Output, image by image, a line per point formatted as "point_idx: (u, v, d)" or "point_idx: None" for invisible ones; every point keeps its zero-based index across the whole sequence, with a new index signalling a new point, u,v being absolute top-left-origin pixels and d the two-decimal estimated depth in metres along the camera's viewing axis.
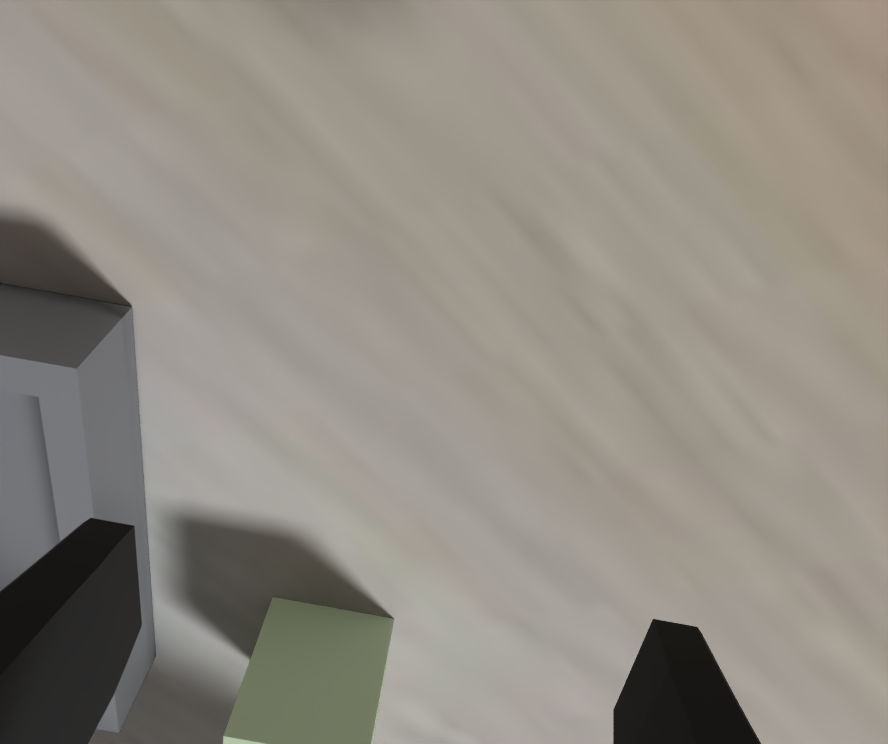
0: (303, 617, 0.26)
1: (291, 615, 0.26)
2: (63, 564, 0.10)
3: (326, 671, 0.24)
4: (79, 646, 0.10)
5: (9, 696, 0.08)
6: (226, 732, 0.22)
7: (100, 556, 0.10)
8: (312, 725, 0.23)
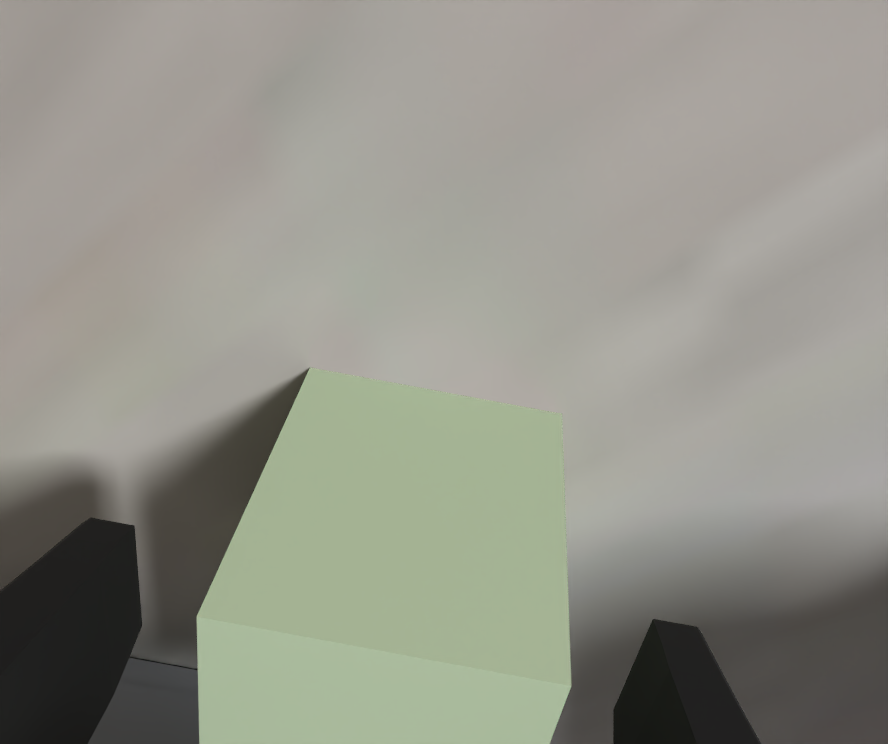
0: None
1: None
2: (63, 564, 0.10)
3: None
4: (79, 646, 0.10)
5: (9, 696, 0.08)
6: None
7: (100, 556, 0.10)
8: None
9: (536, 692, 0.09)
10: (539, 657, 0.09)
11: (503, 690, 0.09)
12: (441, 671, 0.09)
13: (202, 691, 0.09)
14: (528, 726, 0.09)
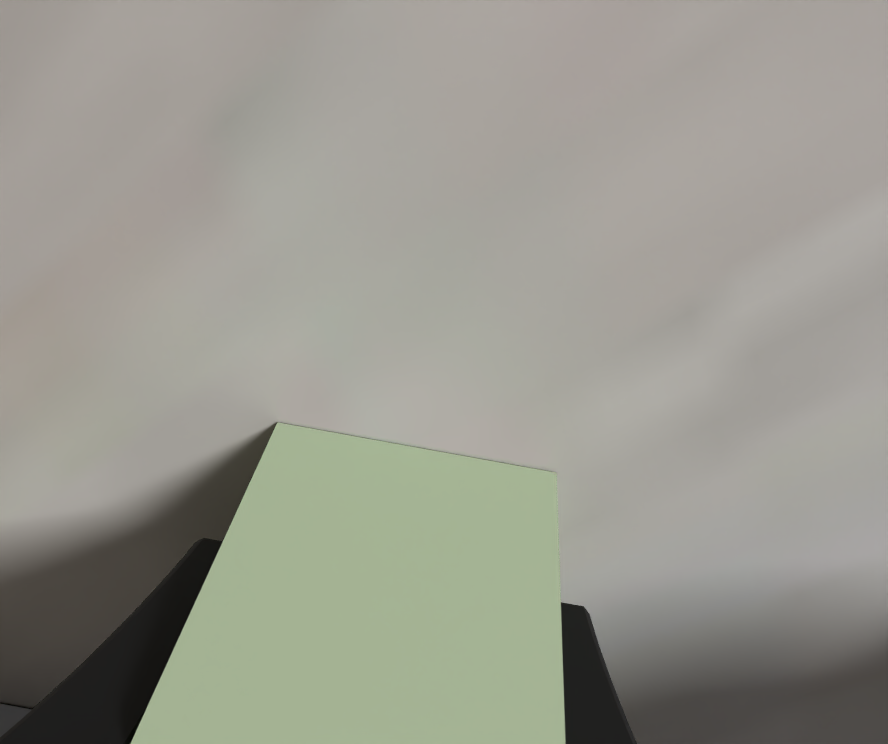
0: None
1: None
2: (188, 586, 0.10)
3: None
4: None
5: None
6: None
7: None
8: None
9: None
10: None
11: None
12: None
13: None
14: None
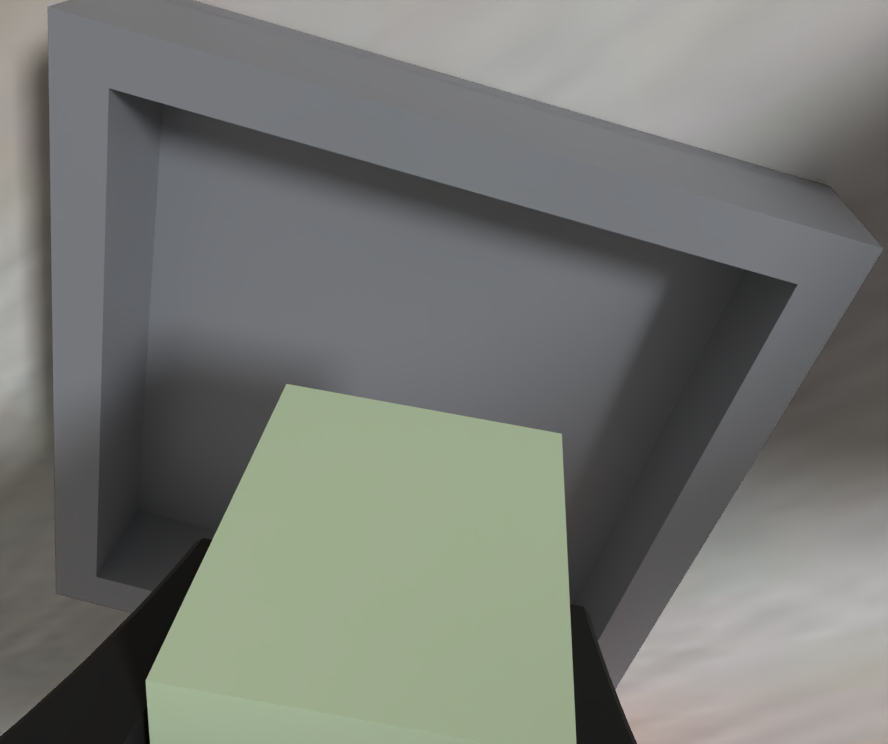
0: None
1: None
2: (187, 587, 0.10)
3: None
4: None
5: None
6: None
7: None
8: None
9: None
10: (539, 724, 0.08)
11: None
12: (426, 742, 0.07)
13: None
14: None
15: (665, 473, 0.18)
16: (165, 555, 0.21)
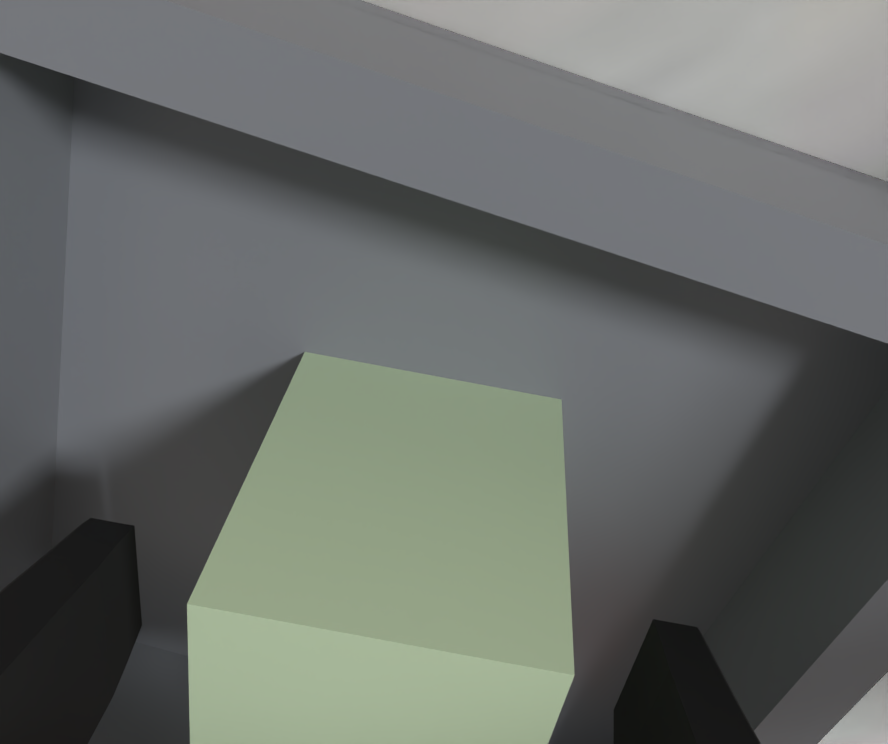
0: None
1: None
2: (63, 564, 0.10)
3: None
4: (79, 646, 0.10)
5: (9, 696, 0.08)
6: None
7: (100, 556, 0.10)
8: None
9: (538, 682, 0.08)
10: (541, 646, 0.09)
11: (503, 680, 0.08)
12: (440, 660, 0.08)
13: (193, 682, 0.09)
14: (530, 717, 0.09)
15: (776, 622, 0.13)
16: None
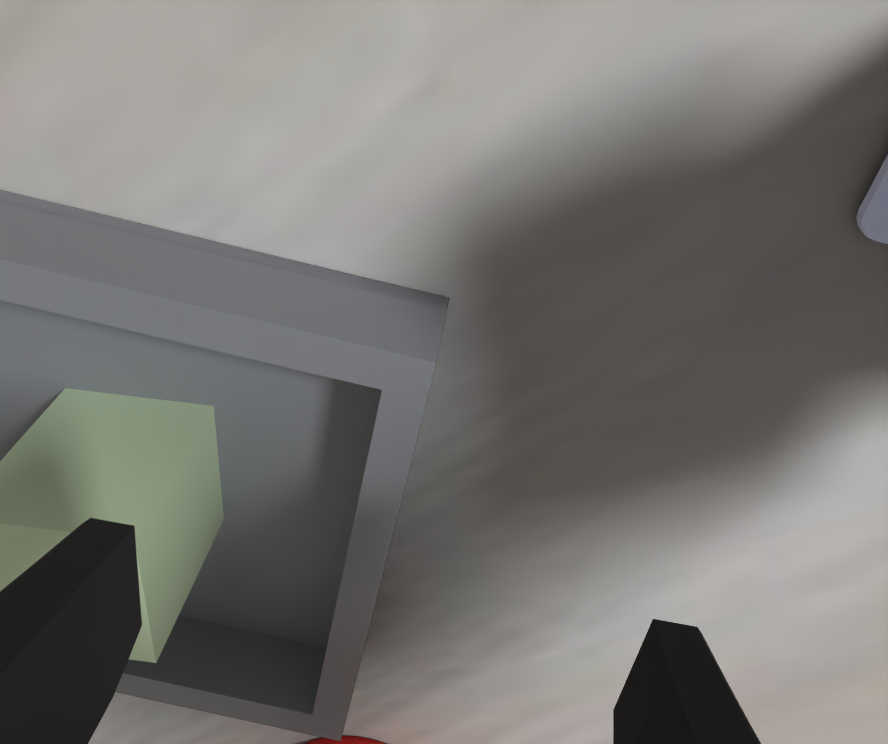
0: None
1: None
2: (63, 564, 0.10)
3: None
4: (79, 646, 0.10)
5: (9, 696, 0.08)
6: None
7: (100, 556, 0.10)
8: None
9: None
10: None
11: None
12: None
13: None
14: None
15: None
16: None
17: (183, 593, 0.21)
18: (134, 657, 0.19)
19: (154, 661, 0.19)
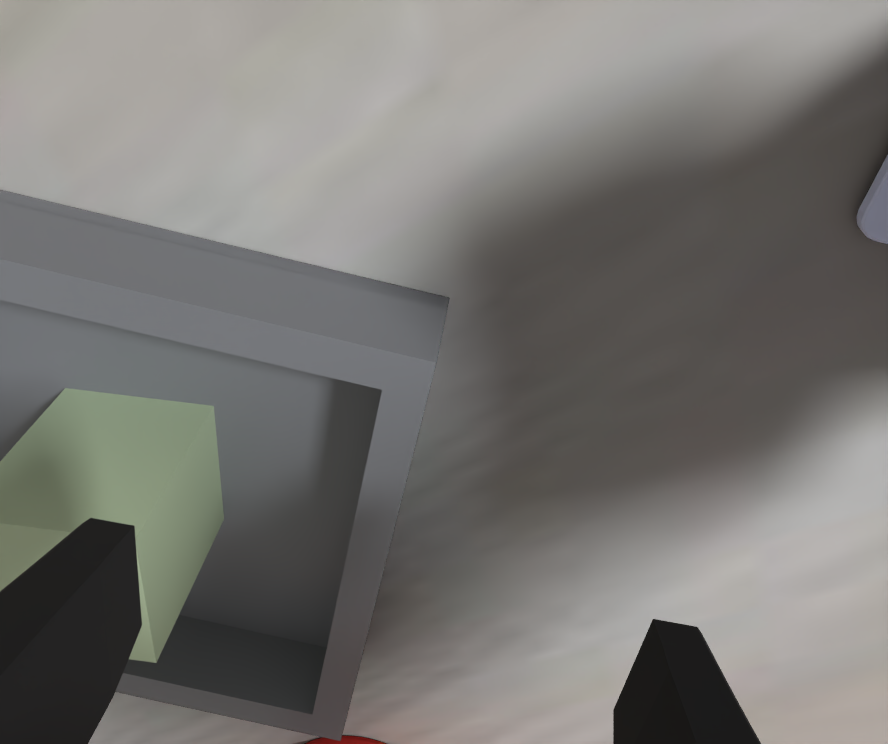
0: None
1: None
2: (63, 564, 0.10)
3: None
4: (79, 646, 0.10)
5: (9, 696, 0.08)
6: None
7: (100, 556, 0.10)
8: None
9: None
10: None
11: None
12: None
13: None
14: None
15: None
16: None
17: (183, 593, 0.21)
18: (134, 657, 0.19)
19: (154, 661, 0.19)
